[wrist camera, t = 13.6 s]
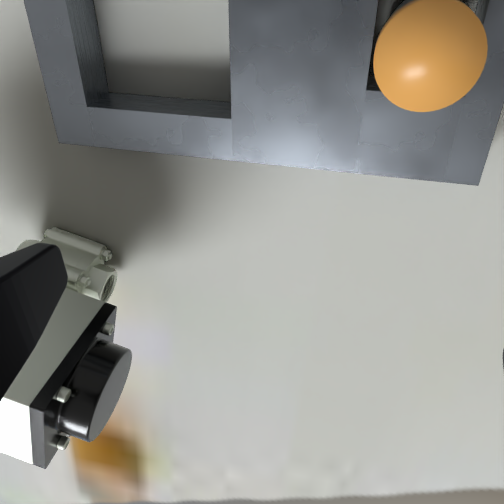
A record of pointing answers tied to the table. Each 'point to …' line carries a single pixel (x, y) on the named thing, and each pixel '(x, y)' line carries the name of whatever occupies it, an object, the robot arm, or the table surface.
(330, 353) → the table surface
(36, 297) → the robot arm
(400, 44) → the plunger
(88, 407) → the pneumatic valve
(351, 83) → the housing
